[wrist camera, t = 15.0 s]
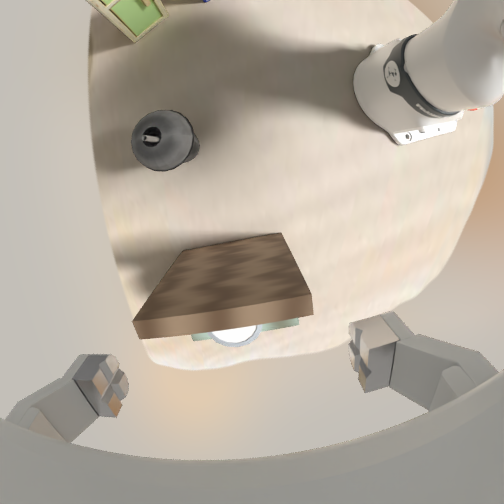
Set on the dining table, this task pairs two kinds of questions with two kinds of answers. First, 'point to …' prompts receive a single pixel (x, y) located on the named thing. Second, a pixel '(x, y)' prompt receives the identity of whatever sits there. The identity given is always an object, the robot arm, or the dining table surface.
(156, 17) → the toy refrigerator
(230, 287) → the wall shelf
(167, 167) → the beverage cup
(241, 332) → the white cup
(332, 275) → the dining table surface
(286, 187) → the dining table surface
